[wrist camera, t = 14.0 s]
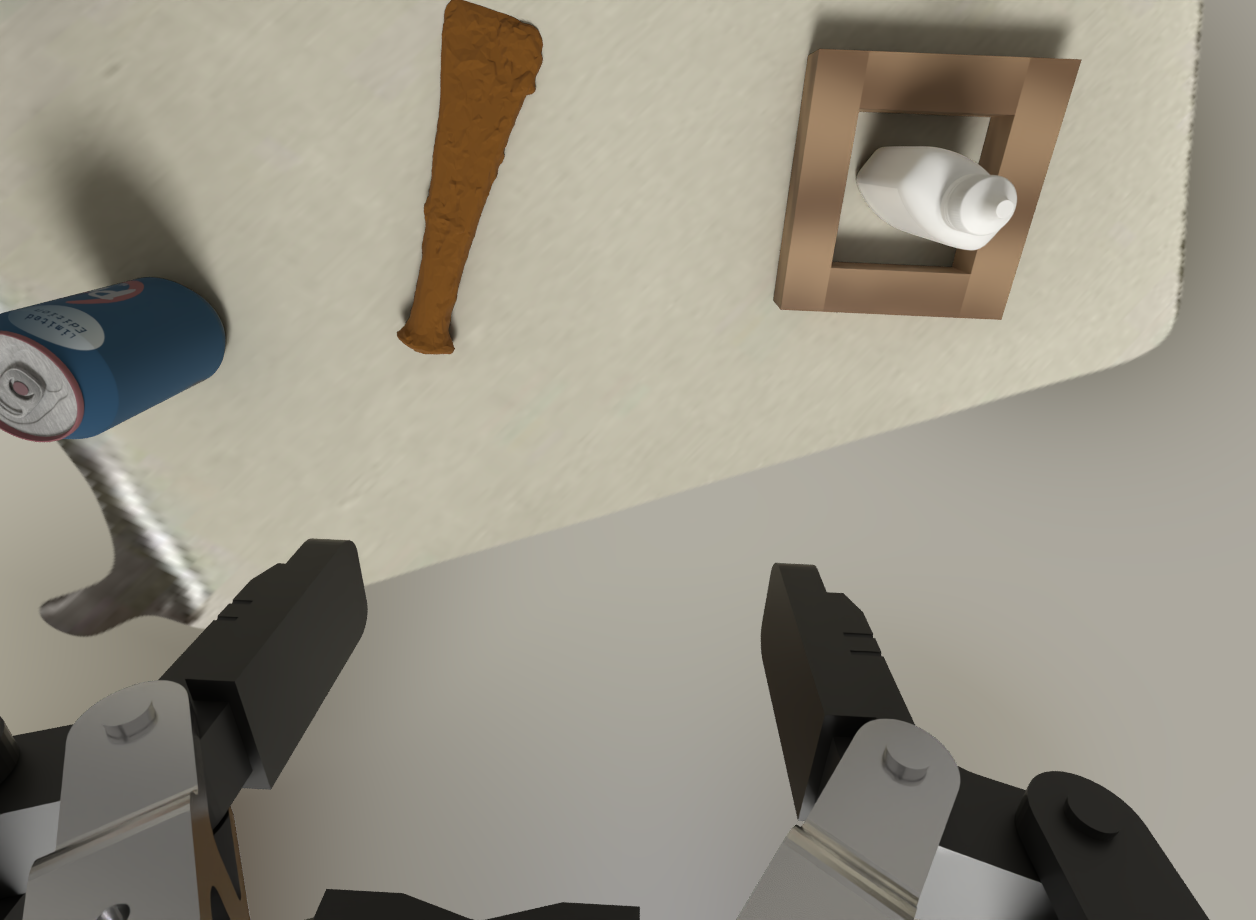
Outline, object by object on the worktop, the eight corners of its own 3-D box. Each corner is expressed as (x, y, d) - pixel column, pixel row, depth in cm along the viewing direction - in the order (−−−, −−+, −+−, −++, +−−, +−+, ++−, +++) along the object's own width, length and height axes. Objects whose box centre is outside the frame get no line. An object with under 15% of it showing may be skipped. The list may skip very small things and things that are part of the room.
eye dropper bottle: (876, 254, 38) (966, 295, 27) (847, 162, 36) (933, 167, 25) (949, 220, 37) (1073, 249, 26) (924, 123, 35) (1048, 111, 24)
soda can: (166, 250, 39) (-19, 288, 28) (257, 336, 41) (118, 401, 30) (107, 318, 41) (-85, 378, 30) (197, 396, 43) (48, 477, 33)
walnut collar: (808, 55, 33) (819, 49, 31) (1052, 65, 33) (1081, 59, 31) (773, 300, 39) (780, 309, 37) (980, 310, 39) (1001, 319, 37)
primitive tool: (450, -4, 33) (428, -19, 30) (550, 31, 34) (539, 19, 30) (405, 336, 41) (385, 352, 38) (485, 359, 42) (472, 376, 39)
